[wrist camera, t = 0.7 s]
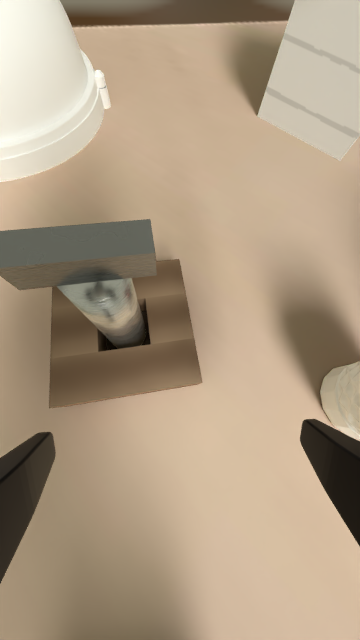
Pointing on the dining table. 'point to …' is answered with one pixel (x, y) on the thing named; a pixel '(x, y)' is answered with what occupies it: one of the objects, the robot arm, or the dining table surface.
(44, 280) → the t key
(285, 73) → the pizza boxes
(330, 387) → the white cup
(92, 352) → the socket block
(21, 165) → the dome cover
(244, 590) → the dining table surface
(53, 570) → the dining table surface
